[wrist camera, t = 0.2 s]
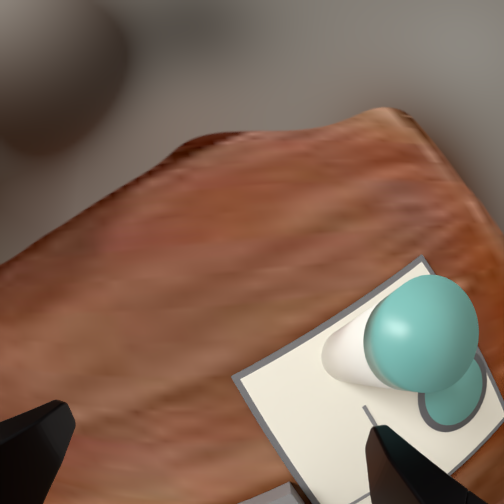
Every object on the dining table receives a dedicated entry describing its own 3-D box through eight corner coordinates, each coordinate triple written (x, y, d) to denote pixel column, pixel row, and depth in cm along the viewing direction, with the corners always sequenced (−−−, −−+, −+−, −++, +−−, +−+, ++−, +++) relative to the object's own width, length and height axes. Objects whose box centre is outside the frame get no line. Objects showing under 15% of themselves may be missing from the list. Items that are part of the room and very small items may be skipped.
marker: (383, 361, 20) (493, 343, 8) (338, 392, 20) (417, 417, 8) (356, 317, 22) (440, 254, 9) (310, 346, 21) (357, 317, 9)
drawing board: (506, 415, 17) (510, 415, 16) (343, 543, 15) (345, 547, 14) (419, 256, 23) (422, 253, 23) (231, 376, 21) (230, 376, 21)
